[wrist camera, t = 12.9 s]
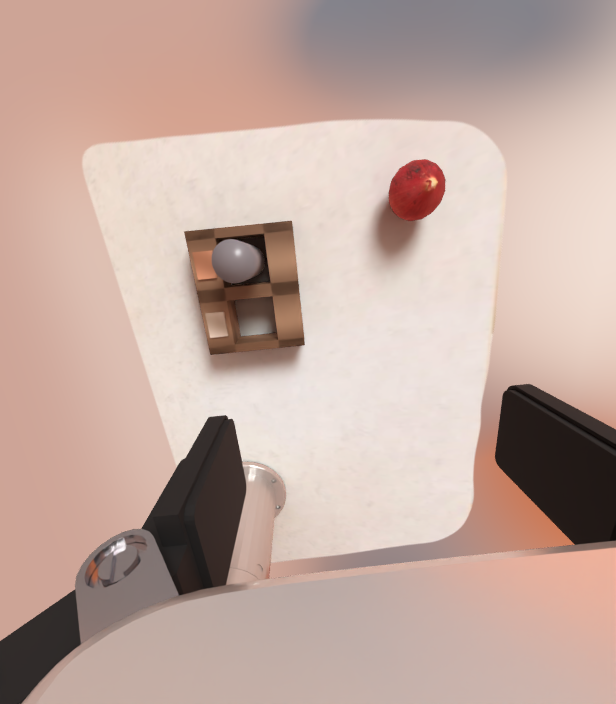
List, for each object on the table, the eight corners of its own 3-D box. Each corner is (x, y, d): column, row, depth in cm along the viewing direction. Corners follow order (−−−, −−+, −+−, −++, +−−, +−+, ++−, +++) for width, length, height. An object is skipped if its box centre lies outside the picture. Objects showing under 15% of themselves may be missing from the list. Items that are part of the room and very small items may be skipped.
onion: (372, 188, 35) (393, 168, 27) (415, 160, 34) (450, 132, 26) (393, 233, 36) (418, 225, 29) (434, 207, 35) (472, 193, 28)
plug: (267, 275, 37) (256, 281, 28) (236, 278, 37) (216, 285, 28) (262, 243, 36) (250, 237, 27) (231, 246, 36) (207, 241, 26)
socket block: (304, 337, 40) (304, 345, 36) (218, 345, 40) (209, 355, 36) (292, 225, 35) (291, 220, 31) (196, 234, 35) (183, 231, 31)
